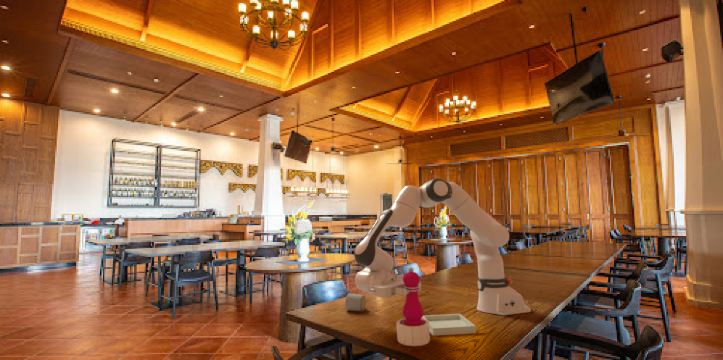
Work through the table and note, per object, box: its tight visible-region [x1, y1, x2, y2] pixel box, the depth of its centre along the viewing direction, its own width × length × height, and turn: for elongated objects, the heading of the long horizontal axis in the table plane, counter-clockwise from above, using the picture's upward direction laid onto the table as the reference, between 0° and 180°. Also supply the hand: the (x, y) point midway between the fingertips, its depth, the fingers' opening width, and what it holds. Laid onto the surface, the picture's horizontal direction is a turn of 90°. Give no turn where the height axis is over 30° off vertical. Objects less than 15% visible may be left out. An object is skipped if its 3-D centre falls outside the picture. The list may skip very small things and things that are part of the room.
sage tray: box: [422, 313, 477, 337], centre depth 132 cm, size 16×16×2 cm
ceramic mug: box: [344, 292, 367, 312], centre depth 161 cm, size 11×8×8 cm
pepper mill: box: [402, 267, 425, 326], centre depth 121 cm, size 7×7×20 cm
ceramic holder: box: [396, 317, 431, 347], centre depth 119 cm, size 11×11×6 cm
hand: (413, 290), depth 120 cm, fingers closed on pepper mill, 5 cm apart
